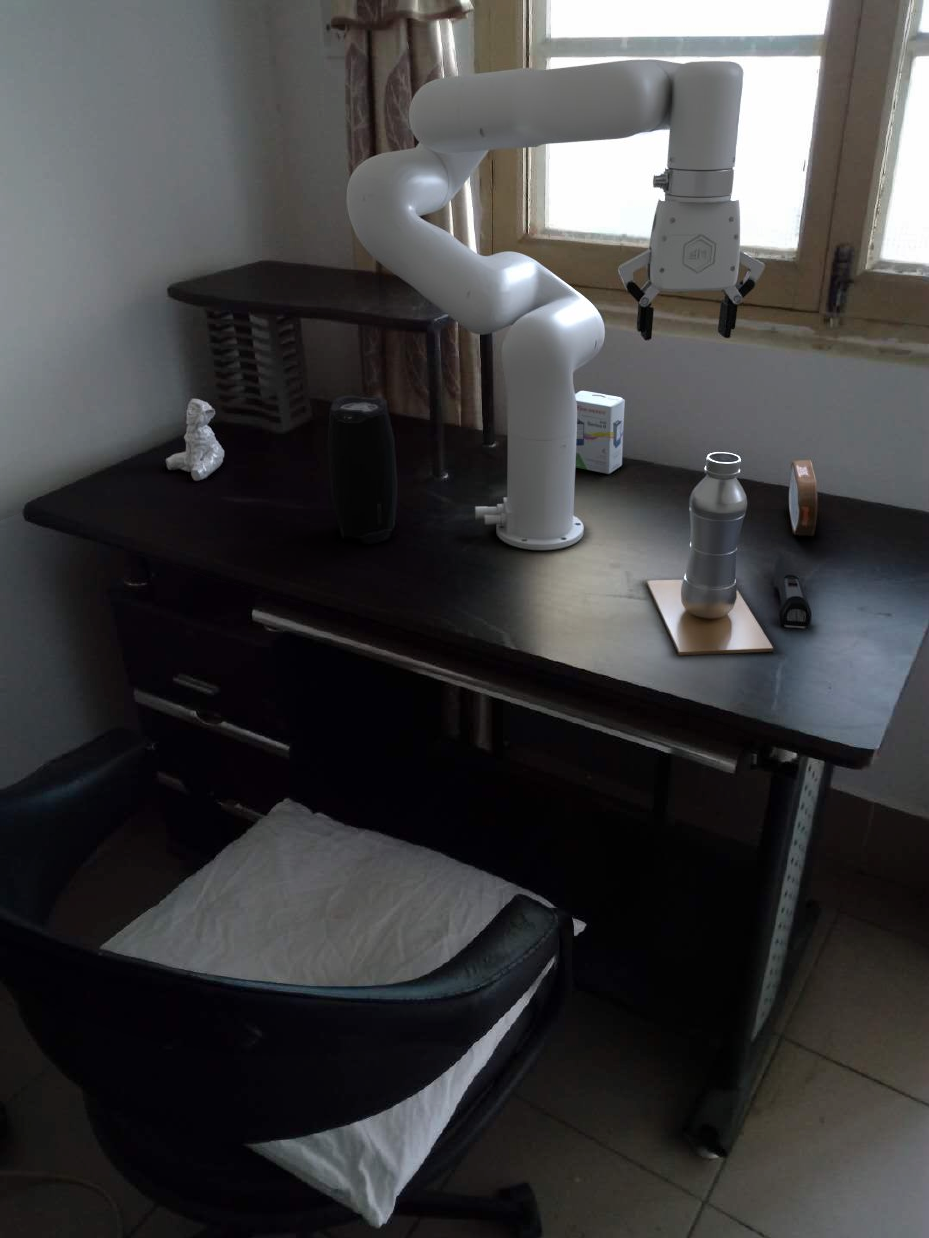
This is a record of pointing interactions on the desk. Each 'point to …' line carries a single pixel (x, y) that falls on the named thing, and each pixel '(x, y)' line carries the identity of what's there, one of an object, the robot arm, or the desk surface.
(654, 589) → the wooden board
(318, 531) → the desk surface
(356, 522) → the portable speaker
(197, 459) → the sitting furry creature
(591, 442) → the ink box
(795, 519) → the tin
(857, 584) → the desk surface
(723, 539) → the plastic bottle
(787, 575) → the electric trimmer
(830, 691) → the desk surface
